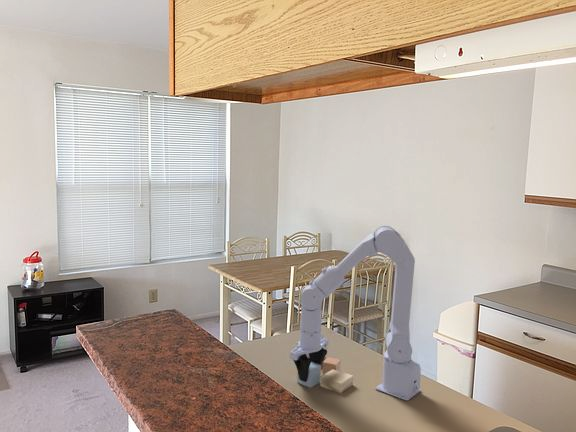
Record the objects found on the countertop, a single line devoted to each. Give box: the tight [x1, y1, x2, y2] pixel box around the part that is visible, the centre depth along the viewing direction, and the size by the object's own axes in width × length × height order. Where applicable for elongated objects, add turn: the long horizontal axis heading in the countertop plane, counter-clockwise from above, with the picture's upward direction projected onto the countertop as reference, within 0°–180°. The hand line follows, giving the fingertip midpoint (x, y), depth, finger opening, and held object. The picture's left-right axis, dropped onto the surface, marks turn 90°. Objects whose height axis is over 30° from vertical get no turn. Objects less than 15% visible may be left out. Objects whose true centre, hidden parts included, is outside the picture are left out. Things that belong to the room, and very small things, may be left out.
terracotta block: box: [321, 356, 341, 376], centre depth 138 cm, size 4×4×4 cm
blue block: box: [296, 362, 322, 389], centre depth 132 cm, size 4×4×5 cm
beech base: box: [319, 369, 354, 394], centre depth 131 cm, size 6×6×3 cm
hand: (308, 377), depth 133 cm, fingers closed on blue block, 4 cm apart
